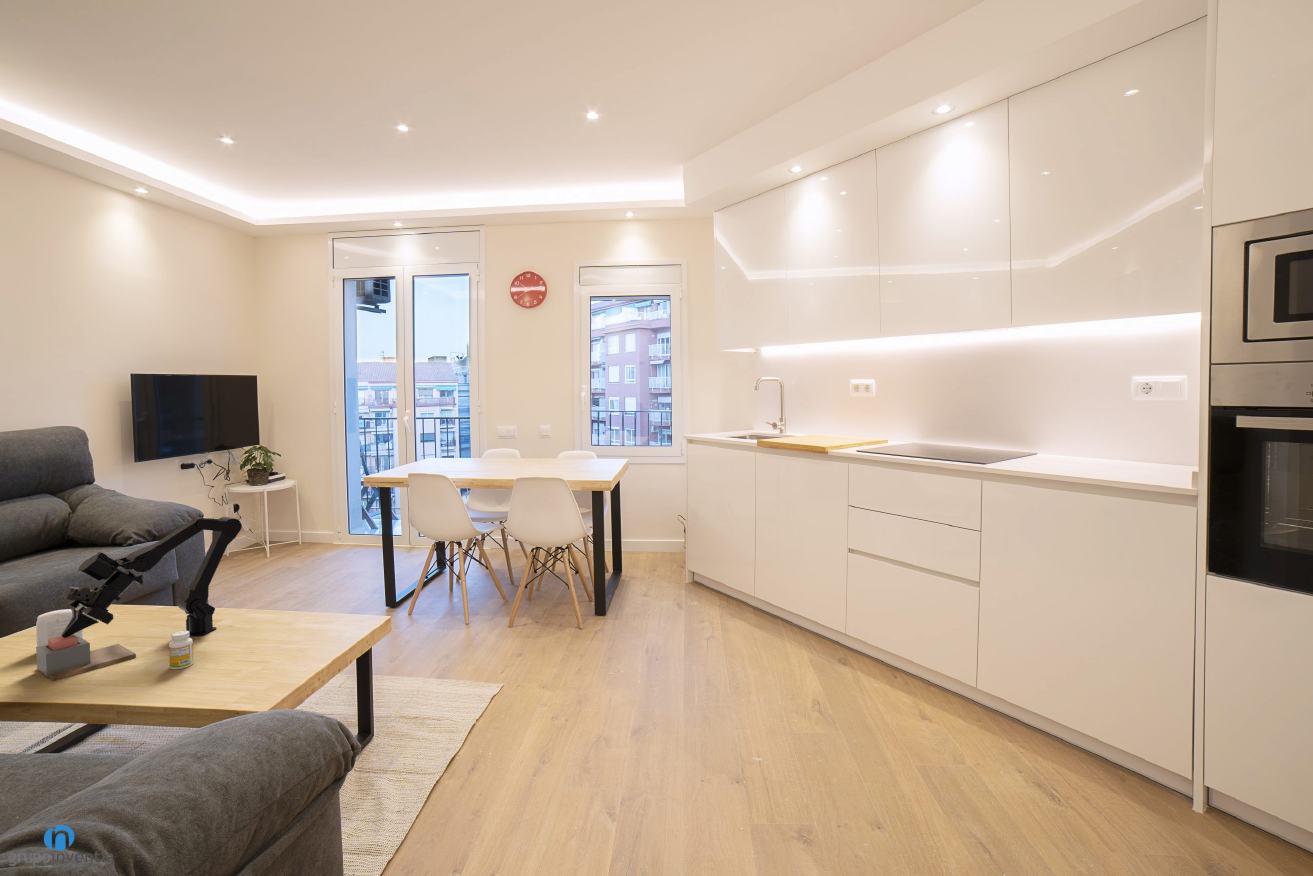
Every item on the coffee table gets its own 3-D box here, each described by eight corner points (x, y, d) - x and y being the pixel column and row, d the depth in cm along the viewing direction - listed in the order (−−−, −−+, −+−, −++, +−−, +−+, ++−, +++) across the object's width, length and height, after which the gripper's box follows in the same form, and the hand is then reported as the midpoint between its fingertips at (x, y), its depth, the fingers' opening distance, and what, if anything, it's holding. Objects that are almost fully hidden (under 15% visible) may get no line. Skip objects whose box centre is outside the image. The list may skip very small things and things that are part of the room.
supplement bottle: (178, 662, 174) (177, 629, 173) (198, 661, 174) (196, 629, 174) (165, 670, 169) (163, 637, 168) (185, 669, 169) (183, 636, 169)
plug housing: (80, 656, 175) (79, 636, 175) (90, 663, 170) (89, 643, 170) (37, 667, 167) (36, 647, 167) (46, 675, 163) (45, 654, 162)
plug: (72, 653, 172) (71, 633, 172) (78, 657, 169) (77, 637, 169) (48, 659, 168) (47, 639, 168) (54, 663, 165) (53, 643, 165)
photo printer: (85, 643, 187) (83, 605, 187) (81, 648, 184) (79, 609, 183) (39, 651, 182) (37, 611, 181) (35, 655, 178) (33, 615, 178)
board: (118, 647, 184) (118, 643, 184) (136, 657, 177) (135, 653, 177) (37, 669, 169) (36, 665, 169) (52, 681, 162) (52, 676, 162)
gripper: (75, 570, 177) (24, 617, 168) (97, 579, 167) (44, 630, 158) (110, 589, 184) (63, 635, 175) (133, 599, 174) (84, 648, 165)
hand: (63, 637), depth 168 cm, fingers closed, pressing on plug
